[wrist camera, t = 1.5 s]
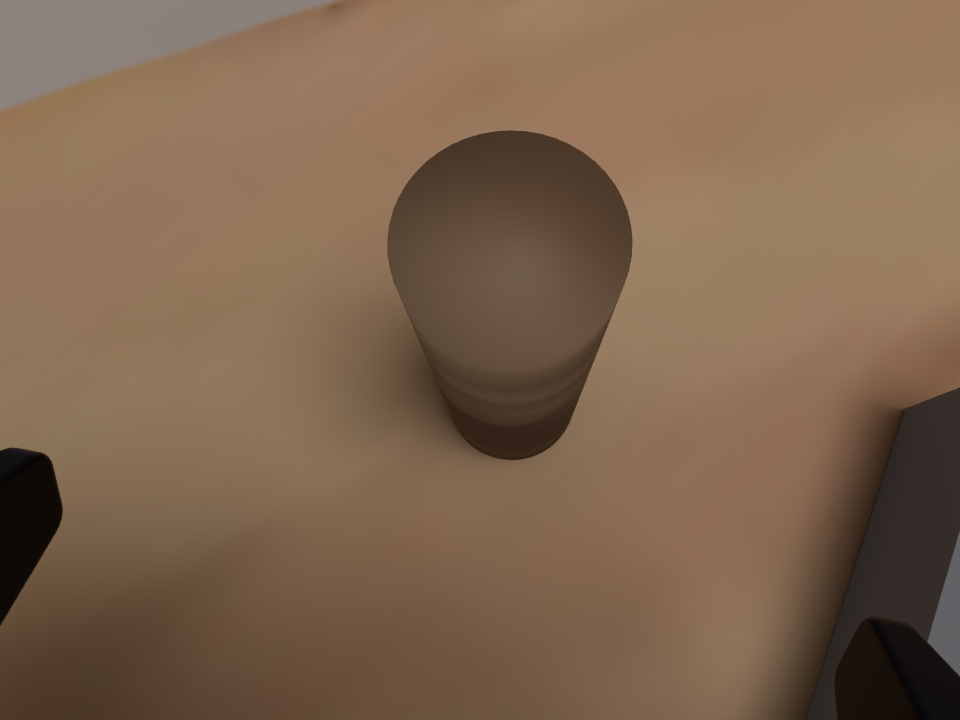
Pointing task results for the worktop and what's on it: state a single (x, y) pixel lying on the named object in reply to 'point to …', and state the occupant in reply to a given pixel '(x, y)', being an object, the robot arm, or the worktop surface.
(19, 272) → the worktop surface
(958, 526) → the socket block
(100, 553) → the worktop surface
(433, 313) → the walnut pin
